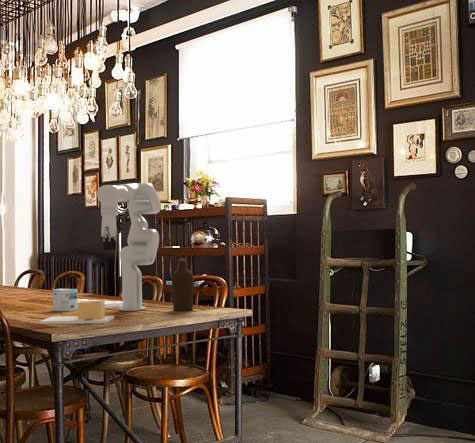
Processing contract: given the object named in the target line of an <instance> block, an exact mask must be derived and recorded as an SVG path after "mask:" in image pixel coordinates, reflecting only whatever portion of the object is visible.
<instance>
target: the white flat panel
mask: <svg viewBox="0 0 475 443" xmlns="http://www.w3.org/2000/svg"><path fill="white" fill-rule="evenodd" d="M112 320H115V315H105V317H104V318H102V319H78V315H75V316H72V315H70V316H63V315H61V316H50V317H47V318H45V319H42V320H39V325H74V324H75V325H76V324H77V325H78V324H79V325H80V324H84V325H85V323H87V324H89V323H91V324H107V323H109V322H111V321H112Z"/></svg>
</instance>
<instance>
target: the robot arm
mask: <svg viewBox="0 0 475 443" xmlns="http://www.w3.org/2000/svg"><path fill="white" fill-rule="evenodd" d="M96 197H97V200H98V201H99V202H100V216H101V232H100V233H101V237H102V238H103V251H116V250H117V238H116V237H117V230H118V229H117V216H119V212H118V211H119V206H118V204H119V203H122V202H128V204H127V208H128V214H129V217H130V221H131V222H130V223H131V225H130V227H129V228H130V229H129V231H128V232H129V233H128V235H127V240H126V241H127V244H128V245H127V246H124V247H122V248H121V250H120V251H119V257H120V264H121V272H122V273H121V274H122V275H121V278H122V281H121V284H122V302H123V307H119V310H120V311H123V312H124V311H127V312H133V311H143V310H144V311H145V310H146V306H144V305H143V280H142V278H143V275H142V272H141V270H140V268H139V267H138V266H149V265H153V264H154V262H155V261H156V258H157V257H156V256H157V254H158V253H157V252H158V248H159V244H160V234H159V232H158V230H156V229H153V228H149V223H148V221H147V220H146V219H145V217H144V216H142V215H153V214H154V215H155V214H158V213H160V211H161V209H162V203H161V199H160V197H159V195H158V193H157V191H156V188H155V187H154V185H153V184H152V183H150V182H143V183H142V182H139V183H138V182H137V183H135V182H133V183H124V184H122V183H121V184H116V185H115V184H114V185H113V184H106V185H101V186H100V187H98V189H97V192H96Z"/></svg>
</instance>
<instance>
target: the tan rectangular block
mask: <svg viewBox="0 0 475 443" xmlns="http://www.w3.org/2000/svg"><path fill="white" fill-rule="evenodd" d="M105 301H106V300H100V301H81V302H78V310H77V316H78V319H102V318H104V317H105V316H106V314H105V312H106V311H105V310H106V308H105Z"/></svg>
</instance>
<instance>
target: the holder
mask: <svg viewBox="0 0 475 443" xmlns="http://www.w3.org/2000/svg"><path fill="white" fill-rule="evenodd" d="M81 301H101V300H99V299H86V298H85V299H84V298H78V302H81ZM104 301H105V309H113V308H114V309H115V307H116V308H120V307H123V301H119V300H118V301H117V300H116V301H111V300H104Z"/></svg>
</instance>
